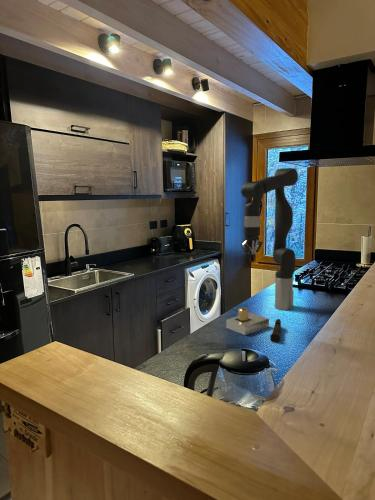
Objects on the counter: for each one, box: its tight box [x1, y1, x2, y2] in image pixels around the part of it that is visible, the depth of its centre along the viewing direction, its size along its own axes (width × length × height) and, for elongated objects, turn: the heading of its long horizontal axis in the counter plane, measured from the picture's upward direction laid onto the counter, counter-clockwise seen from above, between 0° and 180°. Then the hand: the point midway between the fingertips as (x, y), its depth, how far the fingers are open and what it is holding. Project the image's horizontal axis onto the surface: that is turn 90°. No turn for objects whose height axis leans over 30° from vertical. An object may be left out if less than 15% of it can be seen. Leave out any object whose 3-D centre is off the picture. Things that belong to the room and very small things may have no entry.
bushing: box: [237, 307, 250, 323], centre depth 163 cm, size 5×5×9 cm
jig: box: [225, 312, 270, 336], centre depth 164 cm, size 16×12×4 cm
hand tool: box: [269, 318, 282, 343], centre depth 155 cm, size 19×4×5 cm, turn 159°
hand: (251, 261), depth 167 cm, fingers closed
